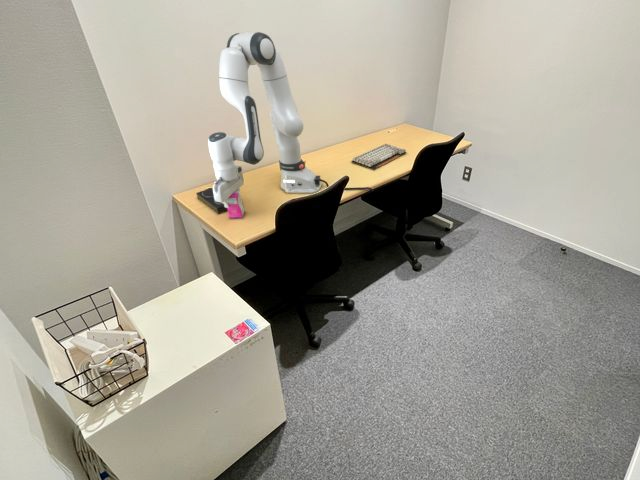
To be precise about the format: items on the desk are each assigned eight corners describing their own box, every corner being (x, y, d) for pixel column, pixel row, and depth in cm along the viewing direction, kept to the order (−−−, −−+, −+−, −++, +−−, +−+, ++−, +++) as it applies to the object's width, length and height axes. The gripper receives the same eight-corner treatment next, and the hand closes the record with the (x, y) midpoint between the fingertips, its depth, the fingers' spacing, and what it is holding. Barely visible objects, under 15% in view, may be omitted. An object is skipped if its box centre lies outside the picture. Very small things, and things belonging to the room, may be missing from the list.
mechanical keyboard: (374, 170, 197) (374, 164, 195) (349, 162, 207) (349, 157, 205) (407, 153, 220) (407, 148, 218) (384, 147, 230) (384, 142, 228)
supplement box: (232, 212, 156) (226, 190, 149) (244, 212, 156) (239, 190, 149) (229, 218, 152) (223, 196, 144) (242, 218, 152) (236, 196, 145)
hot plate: (243, 204, 162) (241, 198, 160) (218, 214, 155) (216, 207, 153) (221, 190, 174) (219, 183, 172) (197, 198, 167) (195, 191, 164)
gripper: (220, 184, 132) (227, 214, 141) (243, 165, 148) (248, 193, 157) (205, 182, 133) (214, 212, 142) (230, 163, 149) (236, 191, 158)
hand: (232, 202), depth 150 cm, fingers open, 8 cm apart
